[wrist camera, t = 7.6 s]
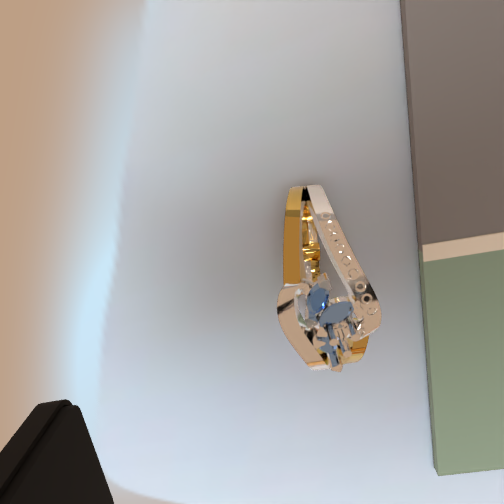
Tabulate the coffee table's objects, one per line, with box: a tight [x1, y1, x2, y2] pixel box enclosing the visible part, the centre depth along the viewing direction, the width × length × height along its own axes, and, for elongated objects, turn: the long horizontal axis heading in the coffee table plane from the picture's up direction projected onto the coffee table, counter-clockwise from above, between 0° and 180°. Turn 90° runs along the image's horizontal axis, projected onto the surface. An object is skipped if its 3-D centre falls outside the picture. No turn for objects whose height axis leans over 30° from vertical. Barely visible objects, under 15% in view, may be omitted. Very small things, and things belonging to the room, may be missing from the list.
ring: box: [277, 185, 381, 372], centre depth 16 cm, size 7×3×8 cm, turn 5°
